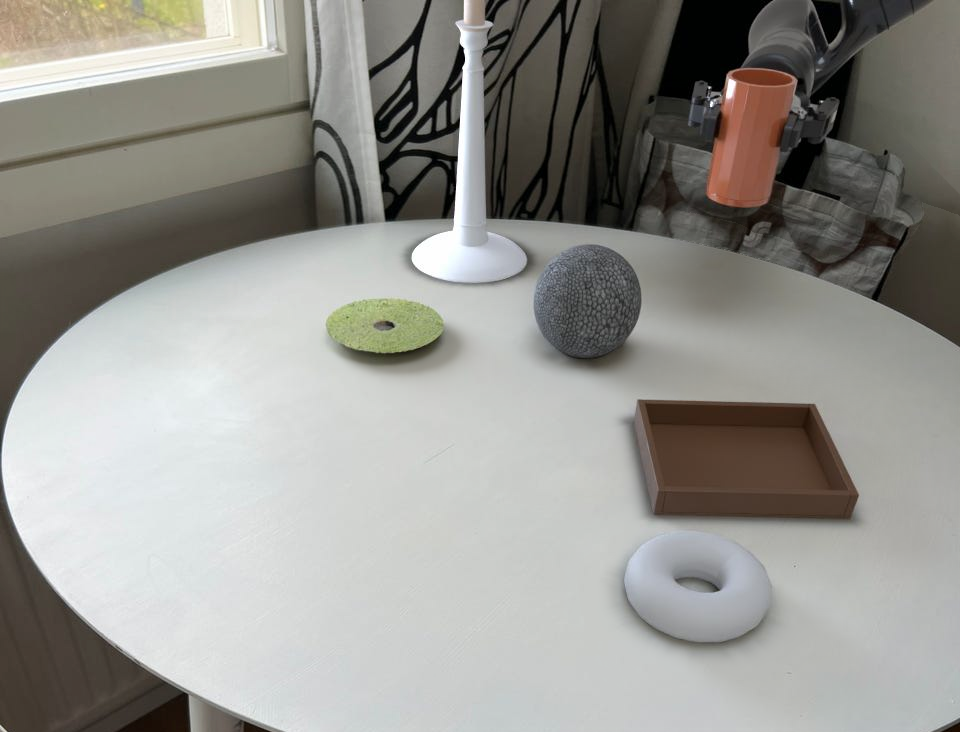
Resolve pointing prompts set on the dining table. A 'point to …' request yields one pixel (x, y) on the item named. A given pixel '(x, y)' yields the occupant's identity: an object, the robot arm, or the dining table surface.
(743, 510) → the tray
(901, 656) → the dining table surface
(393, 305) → the green disc
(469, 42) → the candlestick
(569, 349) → the decorative ball
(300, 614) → the dining table surface
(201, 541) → the dining table surface
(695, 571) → the donut
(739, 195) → the cup
